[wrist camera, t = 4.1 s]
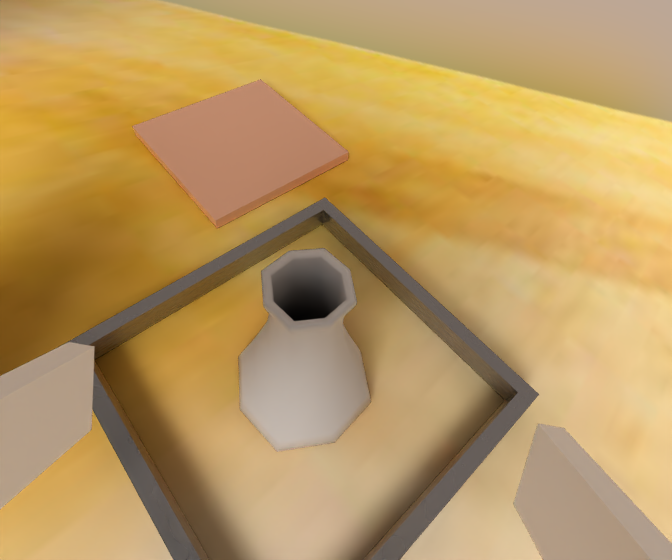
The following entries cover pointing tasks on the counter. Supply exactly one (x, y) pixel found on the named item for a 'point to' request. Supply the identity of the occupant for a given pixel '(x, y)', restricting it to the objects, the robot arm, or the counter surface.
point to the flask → (304, 354)
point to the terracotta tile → (239, 149)
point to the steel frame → (206, 278)
